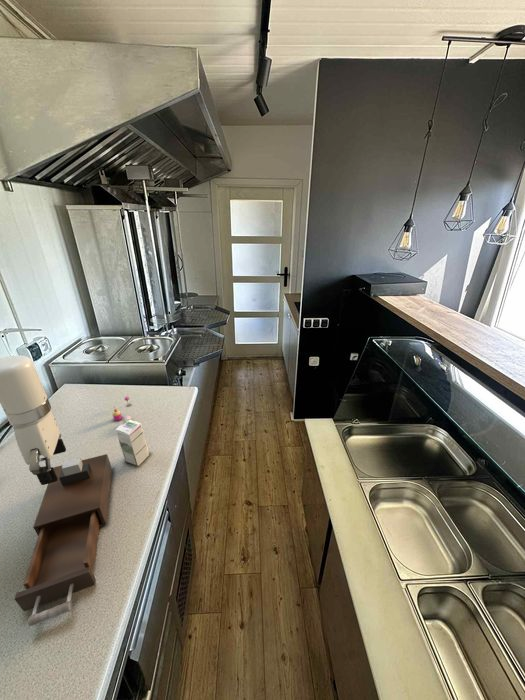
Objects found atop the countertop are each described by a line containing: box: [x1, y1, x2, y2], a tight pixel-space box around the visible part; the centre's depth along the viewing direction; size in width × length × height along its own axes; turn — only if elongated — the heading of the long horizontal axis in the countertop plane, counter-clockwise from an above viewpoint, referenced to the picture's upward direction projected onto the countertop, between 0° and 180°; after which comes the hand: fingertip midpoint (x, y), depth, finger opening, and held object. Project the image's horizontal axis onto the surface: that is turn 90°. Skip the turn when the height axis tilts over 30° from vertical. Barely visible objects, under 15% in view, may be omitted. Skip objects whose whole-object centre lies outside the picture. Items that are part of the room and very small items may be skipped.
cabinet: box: [32, 453, 113, 537], centre depth 82 cm, size 20×15×7 cm
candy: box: [112, 396, 132, 422], centre depth 116 cm, size 18×8×6 cm, turn 36°
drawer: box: [14, 510, 100, 628], centre depth 67 cm, size 24×13×5 cm, turn 21°
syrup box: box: [115, 419, 150, 467], centre depth 95 cm, size 6×6×14 cm
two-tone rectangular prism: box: [59, 456, 91, 485], centre depth 82 cm, size 7×3×6 cm, turn 111°
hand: (54, 466), depth 70 cm, fingers open, 9 cm apart
